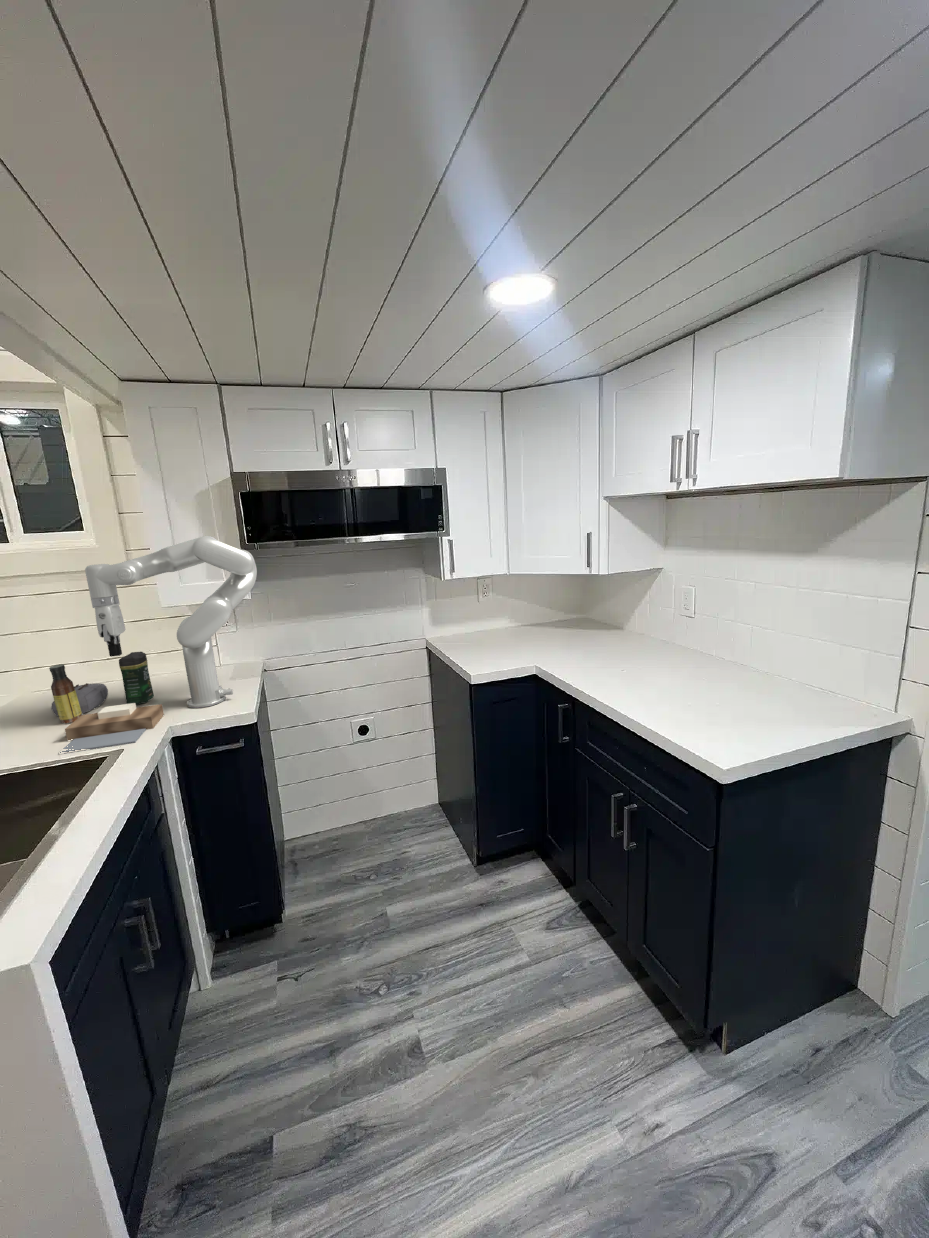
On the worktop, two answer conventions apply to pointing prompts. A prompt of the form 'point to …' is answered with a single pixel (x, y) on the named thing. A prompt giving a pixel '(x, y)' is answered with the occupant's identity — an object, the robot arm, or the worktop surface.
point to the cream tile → (117, 711)
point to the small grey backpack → (88, 696)
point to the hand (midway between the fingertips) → (116, 655)
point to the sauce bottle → (64, 695)
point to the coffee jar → (136, 678)
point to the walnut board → (115, 722)
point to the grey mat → (105, 740)
